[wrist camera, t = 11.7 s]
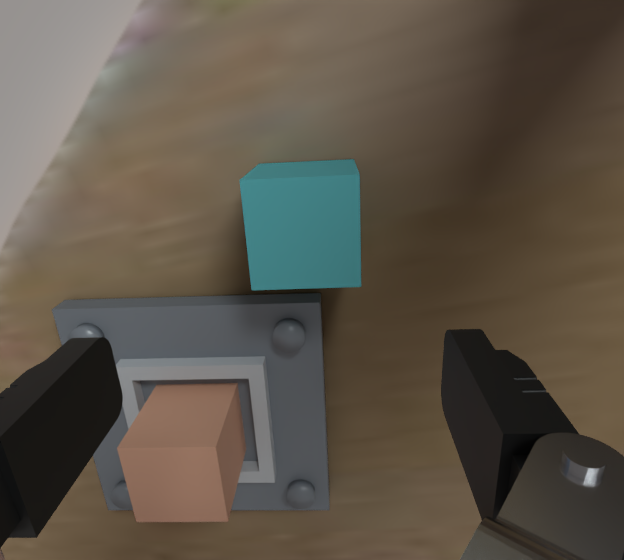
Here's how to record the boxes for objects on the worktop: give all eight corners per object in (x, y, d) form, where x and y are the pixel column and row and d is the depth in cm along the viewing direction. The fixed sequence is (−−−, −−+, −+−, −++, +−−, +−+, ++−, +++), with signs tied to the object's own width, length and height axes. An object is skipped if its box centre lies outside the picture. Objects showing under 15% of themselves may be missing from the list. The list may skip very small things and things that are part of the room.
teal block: (259, 163, 26) (239, 179, 21) (353, 159, 26) (359, 174, 20) (267, 253, 28) (251, 290, 23) (355, 250, 28) (361, 287, 22)
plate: (65, 300, 30) (42, 316, 28) (320, 293, 29) (319, 309, 27) (117, 494, 36) (102, 521, 34) (329, 493, 35) (329, 521, 33)
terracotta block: (156, 384, 30) (117, 447, 25) (237, 382, 30) (215, 446, 24) (170, 449, 32) (136, 522, 27) (246, 448, 32) (228, 521, 26)
